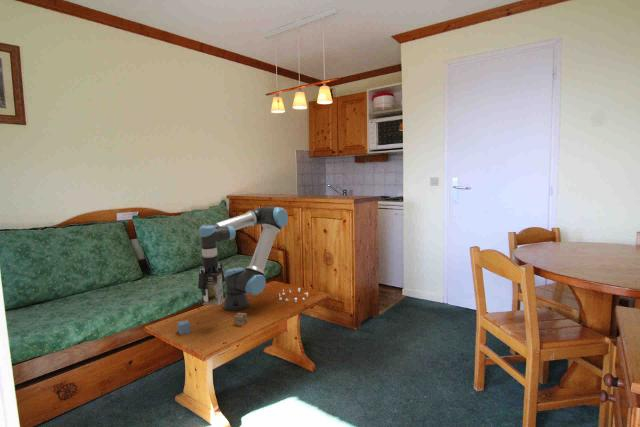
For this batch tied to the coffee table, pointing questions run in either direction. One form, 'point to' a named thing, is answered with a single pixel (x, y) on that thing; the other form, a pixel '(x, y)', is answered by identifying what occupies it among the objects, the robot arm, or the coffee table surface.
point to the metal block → (240, 319)
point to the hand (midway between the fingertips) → (212, 298)
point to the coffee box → (214, 289)
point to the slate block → (183, 327)
